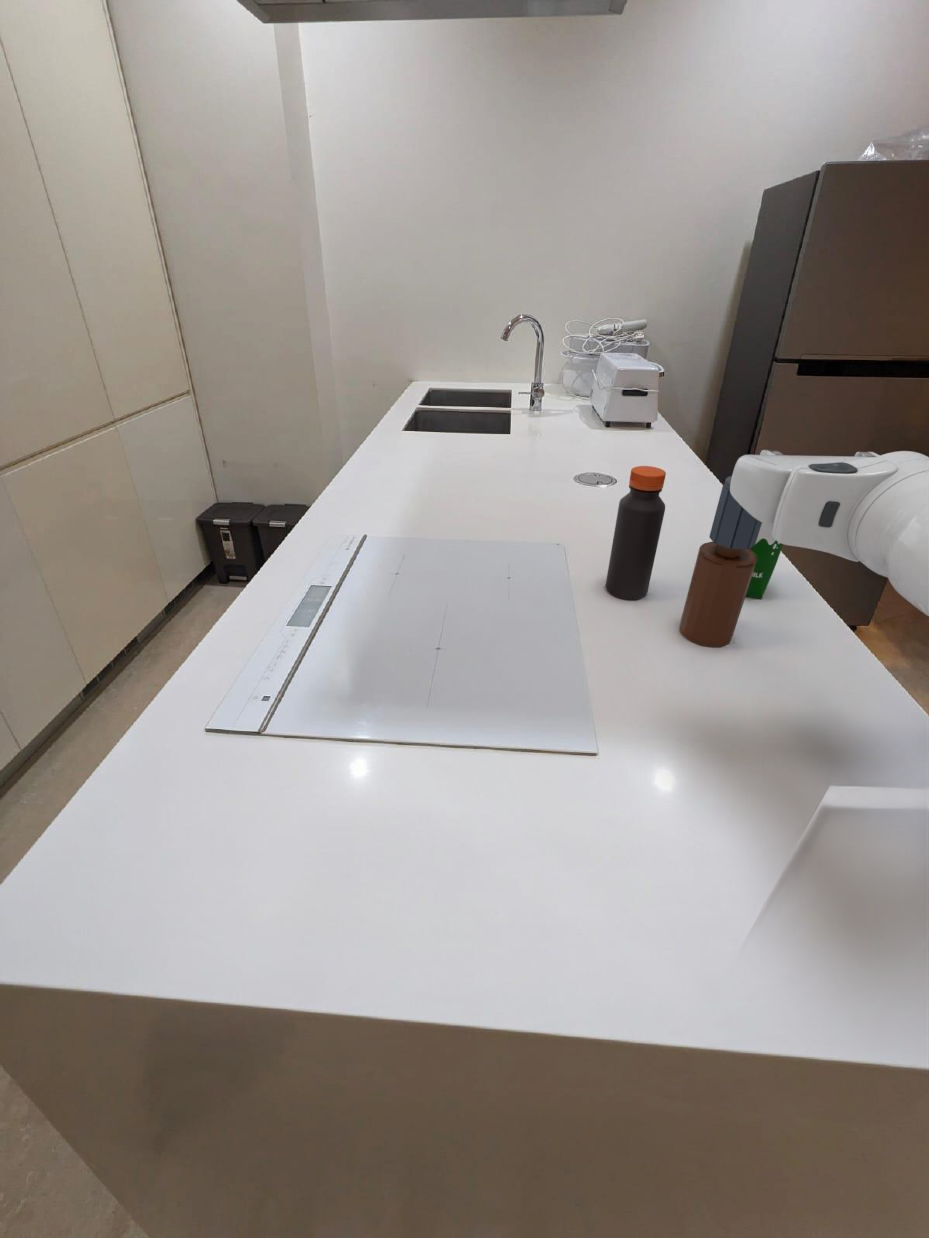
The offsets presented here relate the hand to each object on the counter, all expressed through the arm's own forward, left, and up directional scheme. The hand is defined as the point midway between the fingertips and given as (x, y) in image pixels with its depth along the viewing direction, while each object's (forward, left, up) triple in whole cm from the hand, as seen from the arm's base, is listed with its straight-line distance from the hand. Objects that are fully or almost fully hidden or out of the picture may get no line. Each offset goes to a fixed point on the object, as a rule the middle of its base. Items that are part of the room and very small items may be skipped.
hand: (813, 458), depth 59 cm
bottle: (-6, -11, -30) cm, 32 cm away
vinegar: (-4, -26, -30) cm, 39 cm away
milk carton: (-22, -19, -30) cm, 41 cm away
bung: (-6, -11, -15) cm, 19 cm away
